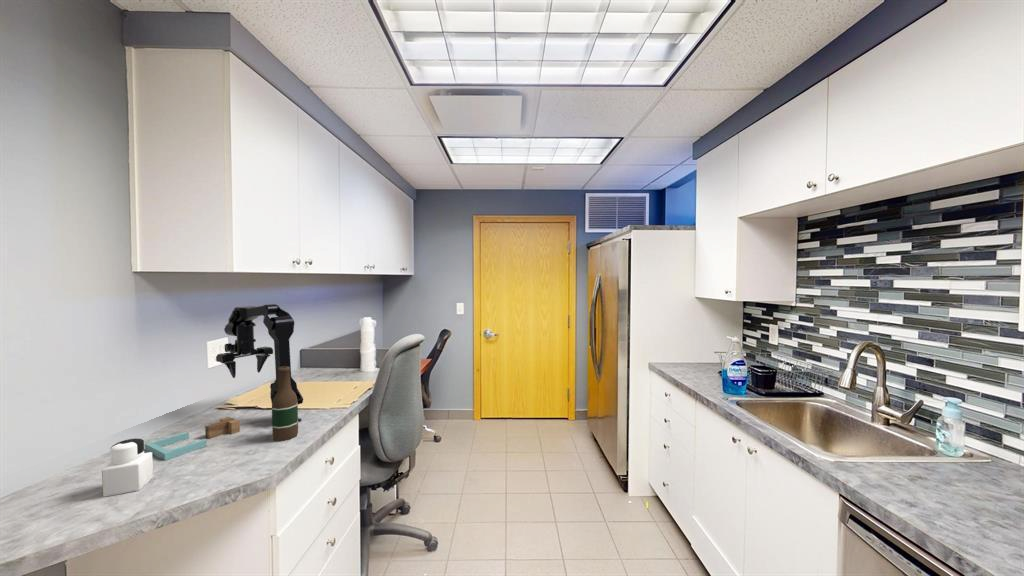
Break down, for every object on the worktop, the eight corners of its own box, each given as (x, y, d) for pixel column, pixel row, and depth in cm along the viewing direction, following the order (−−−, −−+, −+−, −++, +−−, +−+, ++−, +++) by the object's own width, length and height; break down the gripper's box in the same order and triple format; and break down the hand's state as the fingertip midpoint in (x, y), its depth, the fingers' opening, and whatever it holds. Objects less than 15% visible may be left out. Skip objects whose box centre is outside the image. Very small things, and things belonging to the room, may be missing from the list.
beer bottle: (269, 437, 126) (267, 367, 126) (294, 430, 132) (292, 363, 131) (276, 444, 121) (274, 371, 120) (302, 436, 127) (300, 366, 126)
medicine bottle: (118, 483, 99) (117, 438, 98) (153, 477, 101) (152, 433, 101) (102, 497, 92) (100, 450, 92) (140, 490, 95) (138, 444, 95)
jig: (207, 446, 120) (206, 440, 120) (165, 460, 111) (164, 453, 111) (186, 437, 127) (186, 431, 127) (145, 450, 118) (144, 443, 117)
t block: (201, 435, 128) (201, 424, 128) (228, 427, 135) (227, 416, 135) (213, 440, 124) (212, 428, 124) (239, 431, 131) (239, 420, 131)
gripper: (258, 332, 164) (260, 367, 164) (208, 339, 147) (209, 378, 148) (273, 334, 158) (274, 370, 159) (222, 341, 142) (224, 381, 142)
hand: (246, 374), depth 152 cm, fingers open, 9 cm apart
